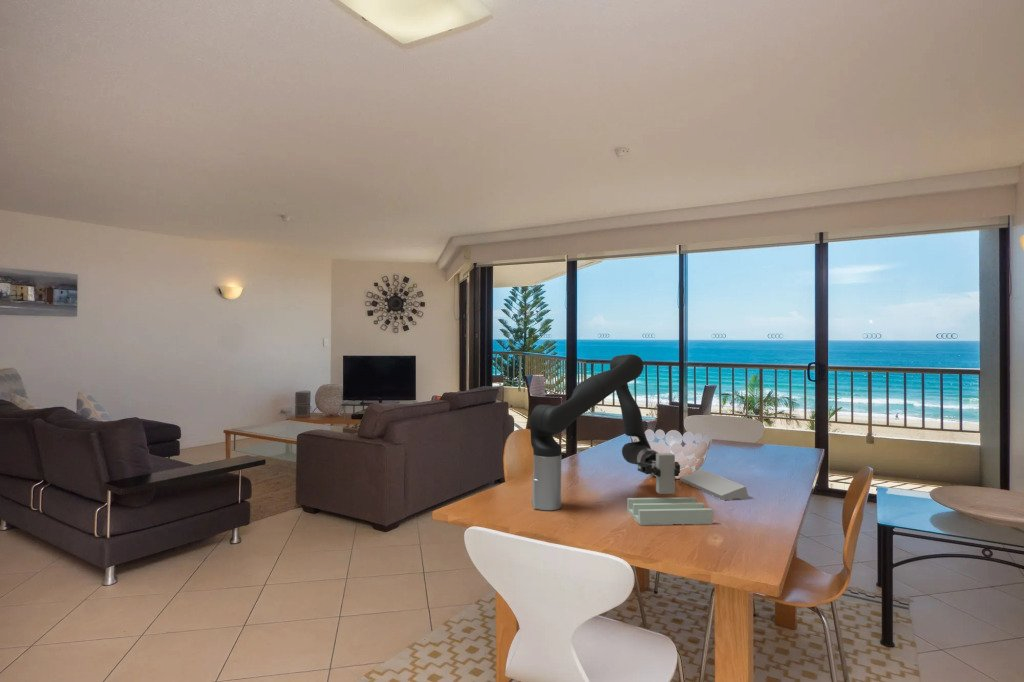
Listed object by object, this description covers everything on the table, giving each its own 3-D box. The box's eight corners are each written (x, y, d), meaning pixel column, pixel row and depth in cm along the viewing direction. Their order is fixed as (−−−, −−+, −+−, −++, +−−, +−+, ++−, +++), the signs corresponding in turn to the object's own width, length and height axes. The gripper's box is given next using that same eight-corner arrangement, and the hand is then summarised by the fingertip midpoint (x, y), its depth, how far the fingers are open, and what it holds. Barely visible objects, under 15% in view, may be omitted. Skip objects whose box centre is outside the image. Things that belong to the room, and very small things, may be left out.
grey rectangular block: (659, 493, 173) (659, 455, 173) (655, 491, 176) (655, 453, 176) (674, 493, 173) (674, 455, 173) (671, 490, 176) (671, 453, 176)
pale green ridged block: (640, 525, 164) (640, 511, 164) (627, 511, 177) (627, 497, 177) (712, 524, 165) (712, 510, 165) (693, 510, 179) (694, 497, 179)
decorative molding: (724, 508, 190) (749, 499, 192) (721, 495, 190) (745, 486, 192) (673, 484, 223) (694, 476, 226) (670, 472, 223) (691, 465, 225)
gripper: (630, 450, 188) (645, 461, 171) (671, 449, 189) (690, 460, 172) (630, 472, 188) (645, 485, 171) (671, 471, 189) (690, 485, 172)
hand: (668, 473), depth 172 cm, fingers closed on grey rectangular block, 5 cm apart
